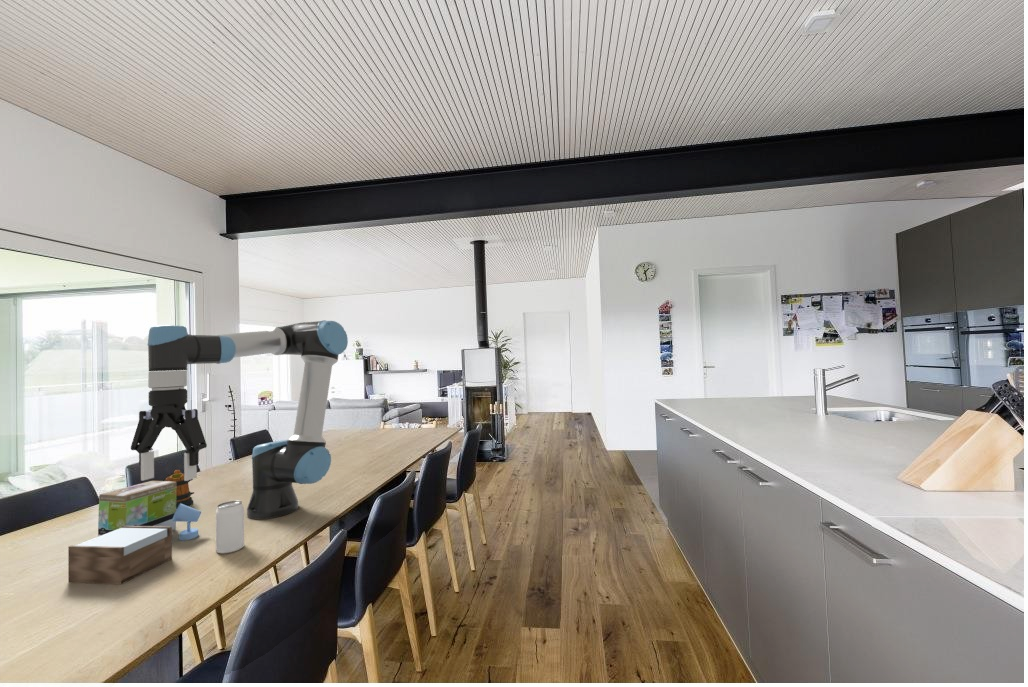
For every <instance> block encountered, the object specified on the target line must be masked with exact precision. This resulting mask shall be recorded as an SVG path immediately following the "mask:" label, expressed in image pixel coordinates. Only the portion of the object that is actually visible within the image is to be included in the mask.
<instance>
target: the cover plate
mask: <svg viewBox="0 0 1028 687" xmlns="http://www.w3.org/2000/svg"><path fill="white" fill-rule="evenodd" d="M165 537H167V529H157V528H120V529H117V530H114V531H112V532H109V533H106V534H104V535H101V536H98V535H97V536H96V537H94V538H91V539H88V540H86V541H83V542H80V543H77V544H74V546H109V547H124V556H125V555H127V554H129V553H132V552H134V551H136V550H138V549H141V548H143V547H145V546H147V545H150V544H152V543H154V542H156V541H159V540H161V539H163V538H165Z"/></svg>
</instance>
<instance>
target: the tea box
mask: <svg viewBox="0 0 1028 687" xmlns="http://www.w3.org/2000/svg"><path fill="white" fill-rule="evenodd" d="M176 484H177V482H171V481H166V480H164V481H163V480H150V481H145V482H142V483H138V484H134V485H130V486H126V487H123V488H118V489H115V490H111V491H106V492H103V493H100V494H99V496H98V517H97V518H98V523H97V524H98V525H97V532H98V533H97V537H98V536H101V535H104V534H106V533H109V532H112V531H114V530H117V529H120V528H122V526H169V527H172V531H175V530H176V528H177V521H172V519H173V516H174V514H175V512H176V490H177V485H176Z"/></svg>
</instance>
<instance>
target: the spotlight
mask: <svg viewBox="0 0 1028 687" xmlns="http://www.w3.org/2000/svg"><path fill="white" fill-rule="evenodd" d="M201 514H202V510H198V509H196V508H194V507H191V506H186V505H184V504H181V503H180V505H179V506H178V508H177V510H176V512H175V514H174V516H173V519H172V521H176V522H178V523H179V522H182V523H183V522H184V523H185V522H186V523H187V524H186V525H187V526H186V529H184V530H181V531H180V532H179V534H178V539H179V541H188V540H189V541H190V540H192V539H195V538H197V537H199V528H191V523H194V522H195V523H196V522H198V521H199V519H200V516H201Z"/></svg>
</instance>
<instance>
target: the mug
mask: <svg viewBox="0 0 1028 687" xmlns="http://www.w3.org/2000/svg"><path fill="white" fill-rule="evenodd" d="M193 480H194V479H191V480H188V481H184V472H183V473H182V472H181V470H180V469H175V470H174V472H173V474H172V475H170V476H167V477H166V478H165V481H171V482H177V484H176V485H177V490H176V510H177V508H178V506H179V505H180V503H181V504H184V505H186V506H189V507H191V506H193V504H194V500H193V497H192V495H194V494H195V492H193V491H190V486H189V483H190V482H191V481H193Z"/></svg>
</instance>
